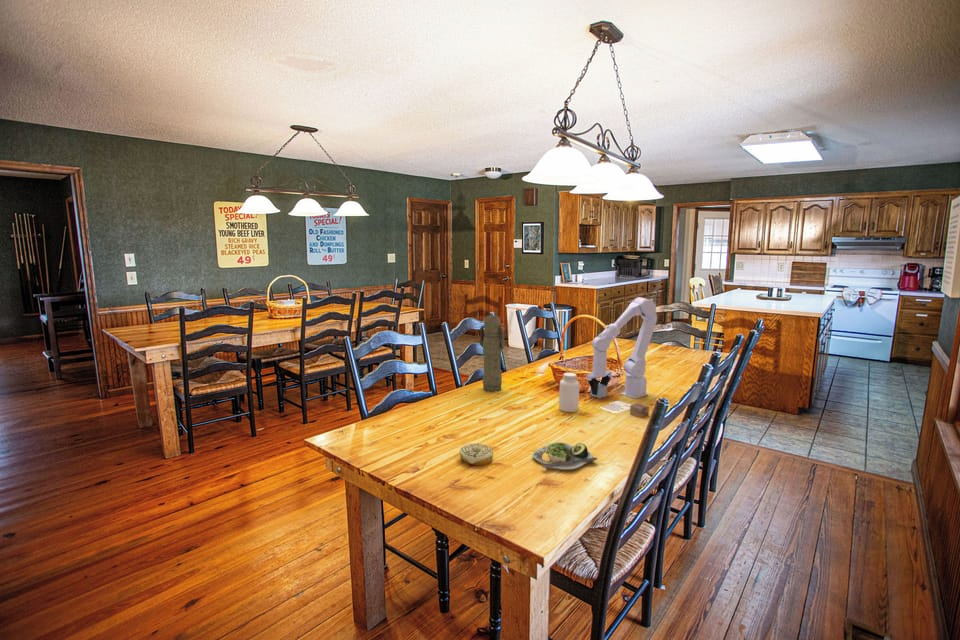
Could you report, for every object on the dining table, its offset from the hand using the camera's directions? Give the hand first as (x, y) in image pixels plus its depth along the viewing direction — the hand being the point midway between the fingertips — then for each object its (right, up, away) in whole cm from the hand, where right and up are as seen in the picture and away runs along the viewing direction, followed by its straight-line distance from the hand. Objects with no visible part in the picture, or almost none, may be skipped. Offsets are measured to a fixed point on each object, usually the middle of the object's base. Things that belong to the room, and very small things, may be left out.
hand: (598, 393), depth 210 cm
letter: (+4, -4, -14) cm, 15 cm away
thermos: (-47, 0, +11) cm, 49 cm away
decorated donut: (-54, -12, -61) cm, 82 cm away
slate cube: (0, -1, 0) cm, 1 cm away
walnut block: (+10, -5, -23) cm, 26 cm away
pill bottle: (-16, -4, -16) cm, 23 cm away
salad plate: (-26, -12, -60) cm, 67 cm away
